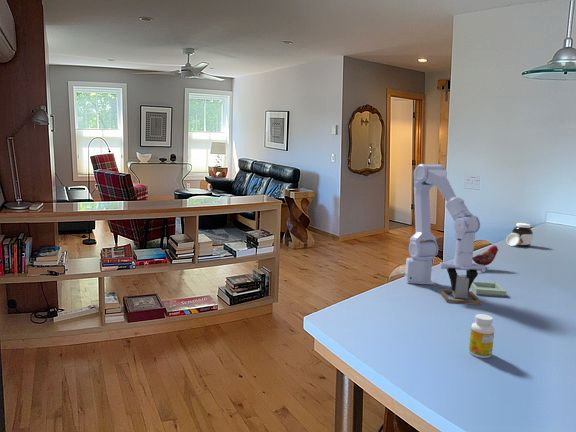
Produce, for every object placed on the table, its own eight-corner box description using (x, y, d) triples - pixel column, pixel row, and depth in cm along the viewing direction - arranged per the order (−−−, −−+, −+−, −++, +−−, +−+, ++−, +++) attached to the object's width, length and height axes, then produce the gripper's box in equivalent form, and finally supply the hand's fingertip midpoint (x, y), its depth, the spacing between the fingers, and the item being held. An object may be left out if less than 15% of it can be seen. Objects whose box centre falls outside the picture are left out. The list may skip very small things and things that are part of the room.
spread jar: (532, 245, 254) (534, 224, 252) (529, 249, 244) (532, 227, 243) (507, 242, 260) (510, 221, 258) (504, 245, 251) (507, 224, 249)
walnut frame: (446, 302, 157) (446, 299, 156) (439, 291, 167) (439, 289, 167) (480, 304, 156) (481, 301, 155) (471, 294, 166) (471, 291, 166)
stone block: (454, 297, 160) (456, 277, 158) (451, 293, 164) (453, 274, 162) (467, 298, 159) (469, 278, 158) (463, 294, 163) (465, 275, 162)
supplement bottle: (464, 349, 121) (468, 312, 120) (484, 349, 122) (489, 312, 120) (474, 358, 116) (478, 320, 114) (495, 358, 116) (500, 321, 115)
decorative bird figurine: (499, 269, 202) (501, 246, 201) (466, 271, 196) (468, 248, 194) (493, 267, 205) (496, 244, 203) (461, 269, 198) (463, 246, 197)
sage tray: (476, 294, 166) (476, 289, 165) (468, 286, 176) (468, 280, 175) (505, 296, 165) (506, 291, 165) (496, 288, 175) (496, 282, 174)
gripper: (444, 252, 156) (440, 292, 158) (490, 255, 154) (485, 295, 156) (439, 248, 163) (436, 286, 165) (483, 250, 161) (479, 289, 163)
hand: (459, 290), depth 161 cm, fingers closed on stone block, 4 cm apart
